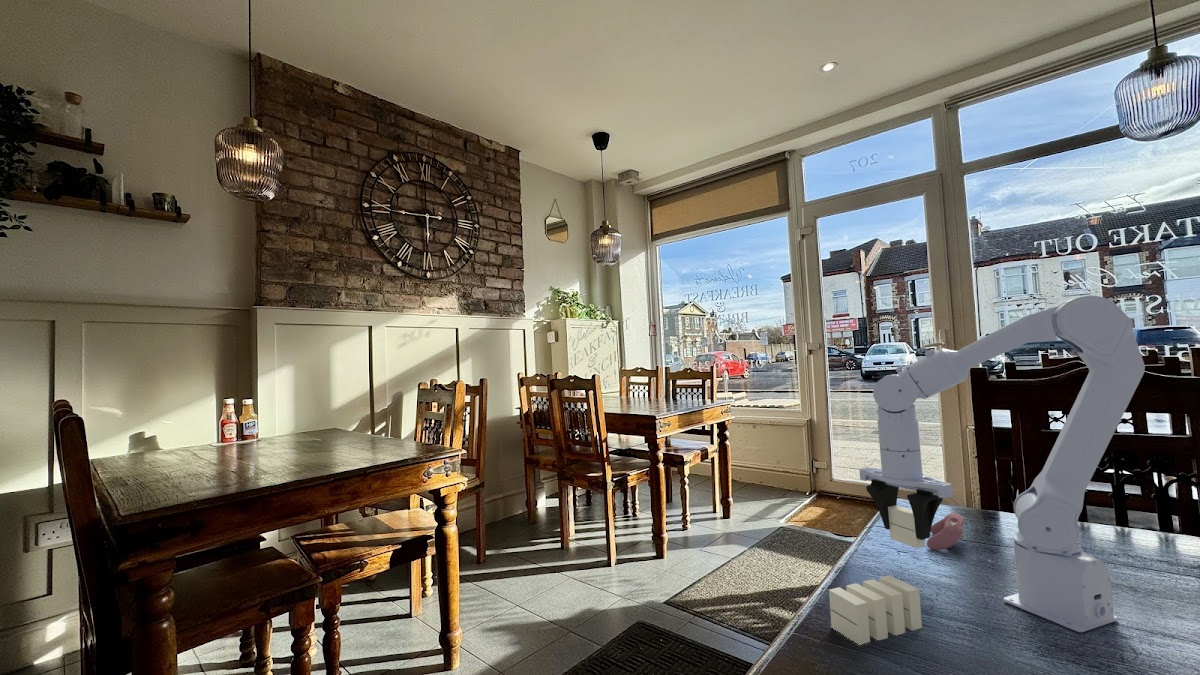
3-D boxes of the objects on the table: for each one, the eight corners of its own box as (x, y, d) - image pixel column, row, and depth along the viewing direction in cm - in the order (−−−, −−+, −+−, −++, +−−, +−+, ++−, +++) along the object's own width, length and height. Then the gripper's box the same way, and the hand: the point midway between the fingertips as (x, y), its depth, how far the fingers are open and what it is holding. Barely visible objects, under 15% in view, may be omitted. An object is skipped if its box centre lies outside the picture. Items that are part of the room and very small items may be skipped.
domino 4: (925, 546, 80) (922, 512, 80) (916, 548, 79) (913, 514, 79) (898, 536, 84) (896, 505, 85) (890, 538, 84) (887, 506, 84)
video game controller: (951, 562, 91) (970, 530, 90) (924, 547, 94) (942, 515, 92) (954, 544, 99) (971, 515, 98) (928, 530, 102) (945, 501, 100)
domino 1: (870, 643, 66) (867, 602, 66) (859, 646, 65) (856, 605, 65) (842, 625, 70) (839, 587, 71) (831, 628, 70) (828, 589, 70)
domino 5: (922, 628, 69) (919, 589, 69) (912, 630, 68) (908, 591, 68) (891, 611, 73) (889, 575, 73) (882, 614, 73) (879, 577, 73)
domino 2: (888, 637, 67) (885, 597, 67) (877, 641, 66) (874, 600, 66) (859, 620, 71) (856, 583, 71) (848, 623, 71) (846, 585, 71)
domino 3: (905, 632, 68) (902, 593, 68) (894, 635, 67) (891, 596, 67) (875, 616, 72) (872, 579, 72) (865, 618, 72) (862, 581, 72)
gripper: (962, 451, 77) (969, 541, 77) (876, 440, 91) (882, 516, 90) (932, 457, 75) (940, 551, 74) (848, 444, 88) (854, 524, 87)
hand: (906, 533), depth 82 cm, fingers closed on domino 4, 5 cm apart
